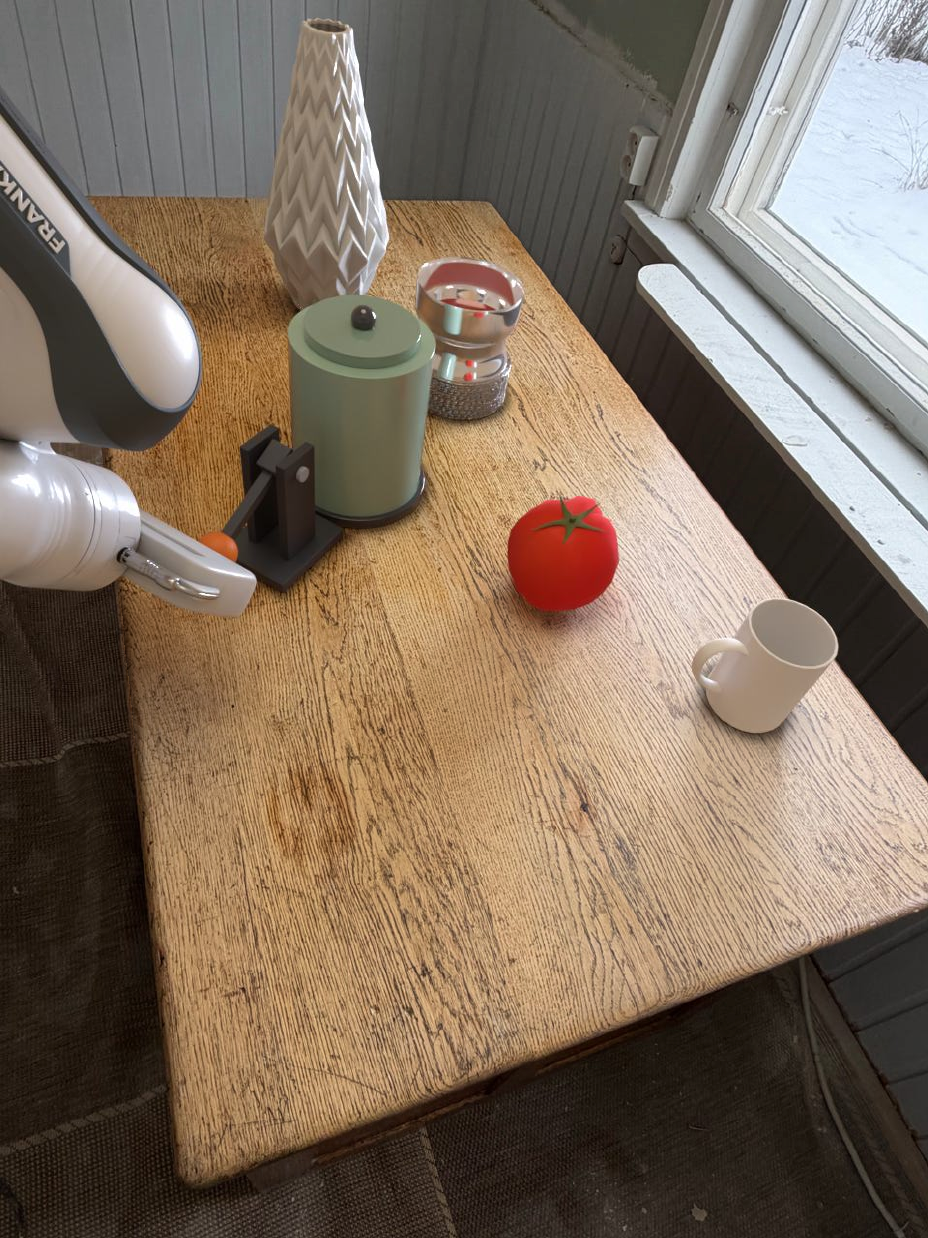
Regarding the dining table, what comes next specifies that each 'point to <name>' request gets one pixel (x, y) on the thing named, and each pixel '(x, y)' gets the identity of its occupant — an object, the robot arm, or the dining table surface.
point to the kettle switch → (247, 502)
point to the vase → (325, 175)
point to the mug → (766, 664)
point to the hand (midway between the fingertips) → (188, 547)
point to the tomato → (563, 554)
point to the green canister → (361, 405)
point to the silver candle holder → (468, 333)
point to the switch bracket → (283, 516)
